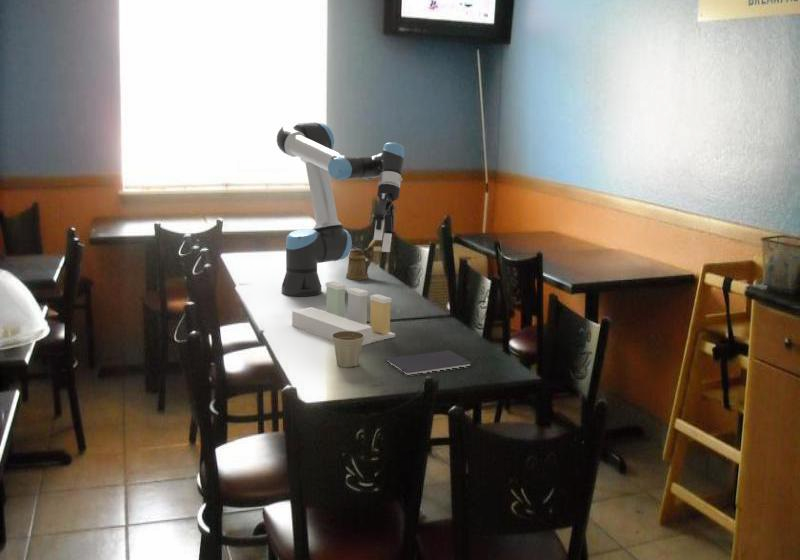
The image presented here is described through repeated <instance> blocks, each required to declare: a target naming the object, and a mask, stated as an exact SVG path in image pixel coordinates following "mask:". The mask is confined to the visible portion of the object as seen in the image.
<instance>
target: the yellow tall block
mask: <svg viewBox="0 0 800 560" xmlns="http://www.w3.org/2000/svg"><path fill="white" fill-rule="evenodd" d="M392 299H393V298H392V297H389V296H385V295H382V294H379V293H376V294H372V295H369V300H370V307H369V308H370V310H369V314H370V315H369V325H370V327H372V331H375V332H378V333H381V334H385V333H389V332H391V304H392V303H391V302H393V301H392Z"/></svg>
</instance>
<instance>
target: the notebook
mask: <svg viewBox="0 0 800 560" xmlns="http://www.w3.org/2000/svg"><path fill="white" fill-rule="evenodd" d="M386 361H387V362H389V363H390V364H391V365H390V364H389V363H388V364H389V365H390V366H392V365H393V366H395V367H396V368H398V369H399V370H401V371H402V372H404V373H405V374H407V375H410V374H417V373H423V374H428V373H427V372H430V373H433V372H432V371H437V372H441V371H440V370H444V371H447V370H446V369H450V370H453V369H452V368H457V369H460V368H459V367H464V368H467V367H466V366H470V367H471V364H472V362H471V361H469V360H468V359H466V358H464V357H463V356H461V355H459V354H457V353H455V352H453V351H452V350H440V351H435V352H426V353H420V354H412V355H405V356H397V357H396V356H395V357H389V358H386V359H385V362H386ZM387 362H386V363H387ZM393 366H392V367H393ZM395 367H394V368H395ZM396 368H395V369H396ZM398 369H397V370H398ZM399 370H398V371H399ZM401 371H400V372H401ZM402 372H401V373H402ZM405 374H404V375H405ZM407 375H406V376H407ZM417 375H418V374H417ZM410 376H411V375H410Z"/></svg>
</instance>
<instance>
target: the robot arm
mask: <svg viewBox="0 0 800 560" xmlns="http://www.w3.org/2000/svg"><path fill="white" fill-rule="evenodd" d="M276 143H277V147H278V148H279V151H281V152H283V153H284V154H286V155H287V156H290V157H295V158H296V157H299V159H300V161H302V162H303V163H304V165H305V168H306V174H307V179H308V183H309V184H308V185H309V186H308V187H309V191H310V198H311V202H312V203H311V204H312V209H313V213H314V220H315V225H314V227H313V228H311V229H310V228H306V229H298V230H294V231H291V232H290V233H288V234H287V236H286V240H285V241H286V243H285V250H286V251H285V252H286V253H285V255H286V257H285V263H286V265H285V269H286V271H285V275H284V278H283V282H282V284H281V293H282V294H283V295H286V296H290V297H291V296H292V297H311V296H316V295H320V294H321V293H322V291H323V290H322V284H321V280H320V277H319V274H318V264H319V263H328V262H336V261H340V260H343V259H344V260H345V259H346V258H347V257H349V254H350V251H351V250H352V246H353V242H352V236H351V234H350V232H349V231H348V230H346V229H344V225H343V223H341V222H340V221H339V219H338V213H337V209H336V203H335V202H336V201H335V196H334V191H333V190H334V189H333V186H332V185H333V184H332V179H333V180H340V181H344V180H345V181H346V180H354V179H364V180H374V179H377V178H379V179H378V187H377V195H376V196H377V197H378V198H379V199H378V203H377V205H376V208H375V213H374V216H373V221H375V225H374V234H373V239H374V240H377V241H382V248H381V252H383V253H390V252H391V244H392V236H394V235H395V230H394V229H395V226H394V224H395V208H396V207H395V205H394V204H393V202H394V201H398V200H399V198H400V192H401V189H400V188H401V182H402V181H403V178H402V174H403V168H404V162H405V160H404V159H405V147H404V146H403V145H402V144H400V143H397V142H393V141H392V142H387V143H385V144H384V145H383V148H382V152H380V153H378V154H375V155H371V156H370V155H369V156H347V155H344V154H342V153H340V152H338V151H336V150H334V145H335V137H334V133H333V132H332V130H331V128H330V127H329V126H328V125H327V124H325V123H322V122H290V123H287V124H285V125H283V126H282V127H281V128H280V129H279V131H278V132H277V135H276Z"/></svg>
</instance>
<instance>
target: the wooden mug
mask: <svg viewBox="0 0 800 560" xmlns="http://www.w3.org/2000/svg"><path fill="white" fill-rule="evenodd" d="M377 242H378V240H374V238H373V239H372V240H371V241H370V243H369V245H368V247H367V248H363V250H361V249H351V250H350V252H349V254H348V263H347V264H348V266H347V272H346V275H345V278H346V279H348V280H350V281H351V280H353V281H363V280H366V279H368V278H369V273H368V270H369V267H370V266H371V264H372V262H373V260H374V253H373V250H372V248H373V247H375V246H374V245H376V243H377ZM367 256H368V257H367ZM367 258H368V260H366V259H367Z"/></svg>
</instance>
